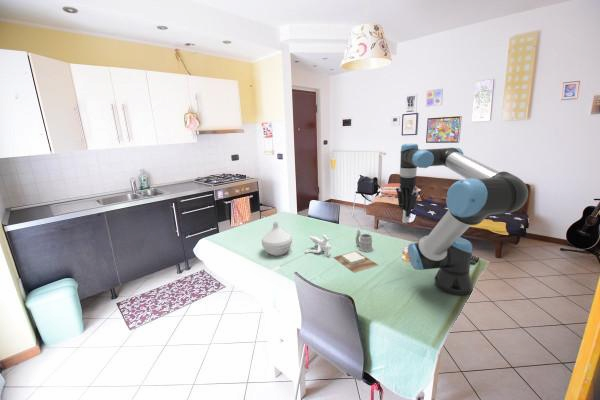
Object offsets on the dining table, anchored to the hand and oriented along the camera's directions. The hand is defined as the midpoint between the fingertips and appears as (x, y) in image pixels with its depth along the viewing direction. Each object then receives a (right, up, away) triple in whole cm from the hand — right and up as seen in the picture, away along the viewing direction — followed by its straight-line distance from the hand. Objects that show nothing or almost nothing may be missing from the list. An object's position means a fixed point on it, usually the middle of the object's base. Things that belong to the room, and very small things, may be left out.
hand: (405, 222), depth 141 cm
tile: (-22, -22, +8) cm, 32 cm away
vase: (-67, -21, +29) cm, 76 cm away
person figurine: (-41, -21, +26) cm, 53 cm away
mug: (-15, -19, +27) cm, 36 cm away
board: (-23, -23, +11) cm, 35 cm away
